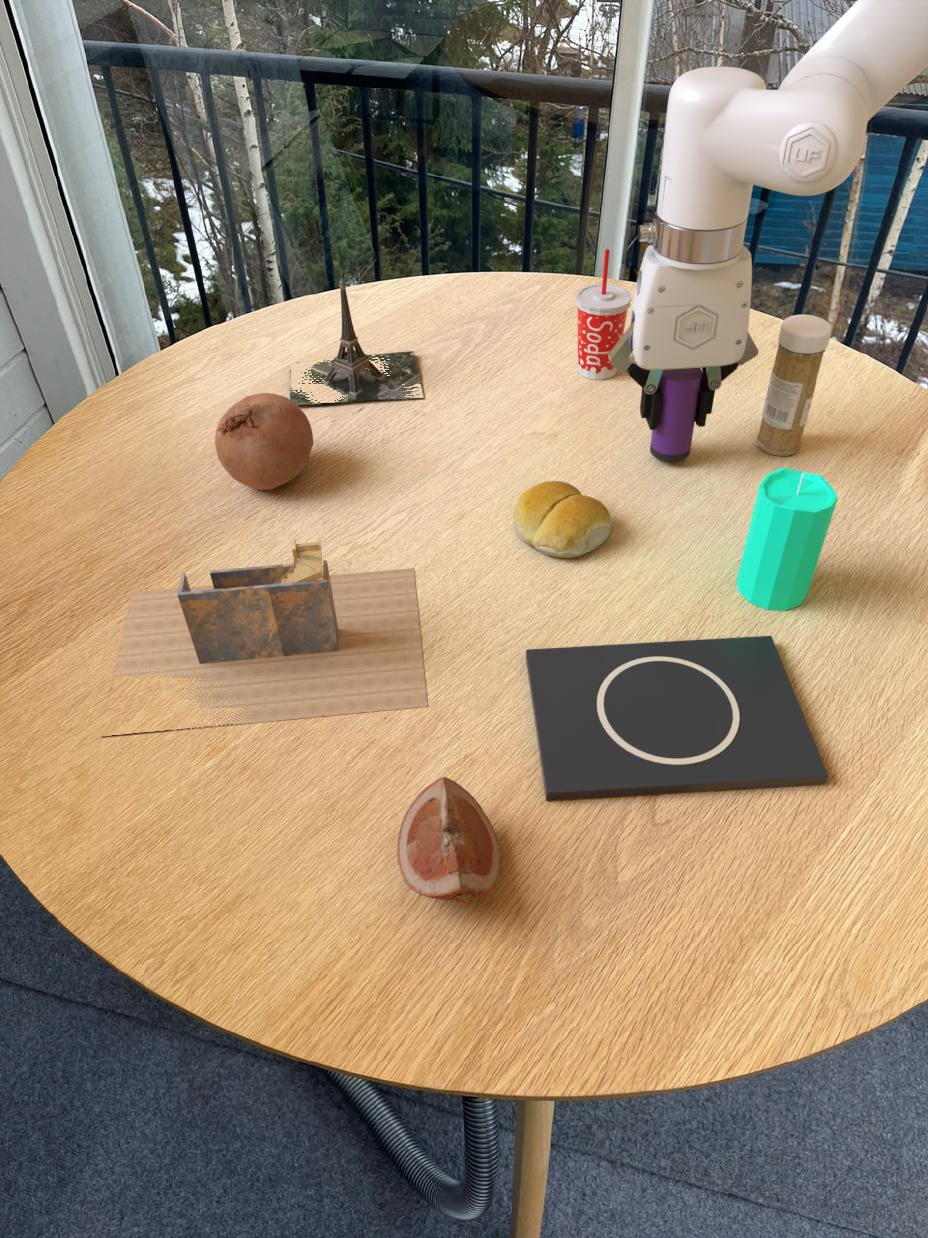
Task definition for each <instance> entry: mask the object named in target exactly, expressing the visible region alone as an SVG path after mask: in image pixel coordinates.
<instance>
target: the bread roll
mask: <svg viewBox="0 0 928 1238" xmlns="http://www.w3.org/2000/svg"><path fill="white" fill-rule="evenodd" d="M513 525H514V530H515V532H516V534H517V536H518V538H519V539H521V541H522V542H524V543H525V544H526V545H529V546H533V547H534V548H535V549H536V550H538V551H539V552H540V553H541V554H545V555H548V556H550V557H554V558H564V559H571V558H577V557H580V556H583V555H585V554H587V553H589V552H592V551H593V550H595V549H597V548H598V547H599V546H600V545H601V544H603V543H604V542H605V541H606V540H607V538H608V537H609V535H610V533H611V514H610V512H609V509H608V508H607V507H606V506H605V504H603V502H601V501H600V500H598V499H596V498H593V497H591V496H589V495H584V494H582V493H581V491H580V489H578V488H577V487H575V486H574V485H572V484H570V483H568V482H565V481H563V480H562V481H561V480H549V481H544V482H540V483H537V484H535V485H533V486H531V487H529V488H528V489H526V490H525V491H524V492H523V493H522V494H521V495H520V496H519V498H518V500H517V501H516V504H515V506H514V511H513Z"/></svg>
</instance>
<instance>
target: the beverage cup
mask: <svg viewBox="0 0 928 1238" xmlns="http://www.w3.org/2000/svg"><path fill="white" fill-rule="evenodd" d="M609 259H610V249H608V248H606V249H605V250H604V259H603V269H602V270H603V271H602V283H593V284H588V285H584V286H582V287H581V288H579V289H578V290H577V291H576V292H575V293H574V294H575V300H574V302H575V307H577V373H578V374H579V375H580V376H582V377H583V378H587V379H589V380H594V381H603V380H608V379H612V377H614V376H616V374H617V372H618V370H619V369H617V368H615V367H613V366H612V365H611V363H610V360H609V357H608V355H609V353H610V352H611V350H612V349H613V348H614V346H615V345H616V344H617V342H618V341H619V340H620V338H621V337H622V336H623V334H624V333H625V327H626V323H627V322H626V321H627V317H628V309H629V308H631V307H630V306H632V305H631V303H632V300H633V297H632V293H631V292H630V291H629V290H628V289H627V288H626V287H622V286H620V285H618V284H612V283H608V275H609V274H608V273H609V261H610V260H609Z"/></svg>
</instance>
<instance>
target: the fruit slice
mask: <svg viewBox="0 0 928 1238" xmlns="http://www.w3.org/2000/svg"><path fill="white" fill-rule="evenodd" d="M413 800H414V801H412V802H411V804H410V806H409V807H408V809H407V811H406V813H405V815H404V817H403V819H402V822H401V825H400V829H399V833H398V839H397V862H398V866H399V870H400V873H401V875H402V877H403V881H404V882H405V883H406V885H407V886H408V887H409V888H410V889H411V890H412V891H413V892H415V893H416V894H418V895H420V896H423V897H427V898H430V899H435V900H439V901H441V900H442V901H448V902H454V901H458V902H465V903H468V902H469V901H471V900H477V899H478V900H479V899H482V898H485V897H486V896H488V895H489V894H490V893H491V892H492V891H493V890H494V889H495V887H496V885H497V883H498V882H499V878H500V875H501V864H502V859H501V858H502V857H501V851H500V850H501V849H500V844H499V841H498V837H497V834H496V831H495V829H494V827H493V825H492V823H491V821H490V819H489V817H488V816H487V814H486V813H485V811H484V809H483V808H482V806H481V805H480V803H479V802H478V801H477V799H476V798H475V797H474V796H473V795H472V794H471V793H470V792H469V791H468V790H466V789H465V788H464V787H463V786H461V785H460V784H459V783H458V782H456V781H454V780H452V779H450V778H449V777H445V776H442V777H439V778H438V779H436V780H435V781H434V782H432V783H430V784H429V785H427V786H426V787H425V788H424V789H423V790H422V791H421V792H419V794H418V795H417V796H416V797H415V799H413Z"/></svg>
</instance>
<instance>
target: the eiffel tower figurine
mask: <svg viewBox="0 0 928 1238" xmlns="http://www.w3.org/2000/svg"><path fill="white" fill-rule="evenodd" d="M340 277H341V279H340V281H338V286H339V289H340V291H339V292H340V306H341V307H340V308H341V337H340V338H339V341H340V343H339V347H338V352H337V355H336V356H335V357H333V358H334V360H332V361H330V360H327V361H326V362H327V363H326V362H322V363H321V362H318V363H320V364H318V363H317V364H314V365H313V366H314V367H313V366H312V367H309V368H311V370H308V372H309V371H311V373H312V375H309V374H311V373H308V375H309V377H310V378H312V379H313V380H314V381H312V383H313V382H316V383H313V384H317V383H318V384H324V385H325V384H326V386H329V387H330V388H333V390H337V392H340V393H341V394H342V395H344V396H345V395H346V397H343V396H342V397H343V398H344V399H341V400H338V399H337V400H338V401H339V402H336V403H335V404H341V403H348V402H354V403H357V402H361V401H372V400H373V401H374V400H375V401H377V400H407V399H406V398H410V397H405V396H412V397H413V396H414V395H406V394H411V393H412V392H417V391H419V390H416V391H407V390H412V389H414V388H419V387H411V388H404V387H409V386H413V385H415V384H422V378H421V374H420V371H419V367H418V364H417V363H418V362H417V359H416V353H415V351H414V350H409V351H397V352H387V353H378V354H377V353H375V354H374V355H375V356H372V355H373V354H367V353H365V352H364V351H363V348H362V347H361V345H360V343H359V337H358V336H357V334H356V332H355V328H354V324H353V319H352V314H351V311H350V305H349V300H348V294H347V287H346V286H347V282H346V281H345V280H344V279H343V274H342V273H340ZM381 355H382V356H381ZM387 356H388V357H387ZM375 357H378V358H379V359H380V361H381V362H382V361H384V360H385V361H386V362H382V363H383V364H384V363H387V364H388V365H386V364H384V365H383V366H384V369H389V370H385V371H386V372H387V373H388V374H384V373H386V372H382V373H381V372H380V371H383V370H380V371H379V370H378V369H377V368H376V367H375V366H374V365H373V364H372V363H371V362H370V361H369V360H371V361H375V360H378V359H372V358H375ZM381 358H384V359H381ZM387 359H390V360H387ZM324 361H325V360H324ZM328 361H330V362H328ZM375 363H378V361H377V362H375ZM392 364H393V365H392ZM380 365H382V364H380ZM385 366H388V367H389V368H387V367H385ZM366 368H367V369H366ZM380 368H382V367H380ZM368 369H369V370H368ZM306 370H307V369H306ZM390 371H391V372H390ZM301 373H302V372H301ZM306 373H307V372H304V374H306ZM315 374H316V375H315ZM321 374H322V375H321ZM308 375H305V377H306V376H308ZM387 375H390V376H387ZM312 376H313V377H312ZM318 376H319V377H318ZM325 377H326V378H325ZM302 378H304V377H302ZM306 378H307V377H306ZM314 378H316V379H314ZM320 378H322V379H320ZM420 378H421V379H420ZM307 379H308V378H307ZM307 379H304V380H307ZM312 379H309V381H310V380H312ZM316 380H319V381H316ZM322 380H324V381H322ZM302 382H303V381H302ZM319 382H321V383H319ZM299 384H300V383H299ZM302 384H305V383H302ZM308 384H311V383H308ZM402 384H405V385H402ZM422 385H423V384H422ZM291 389H292V388H291ZM300 389H301V388H300ZM292 391H294V390H291V392H290V391H289V399H290V400H291V401H293V402H294V403H295V404H296V405H313V404H312V403H314V402H310V401H311V400H313V399H311V400H307V399H308V398H310V397H306V396H305V395H309V394H305V393H306V392H302V390H300V392H297V391H298V390H295V391H296V392H297V393H295V392H292ZM403 391H404V392H403ZM301 392H302V393H303V394H305V395H303V394H299V393H301ZM311 393H312V392H311ZM416 395H419V394H416ZM312 396H313V395H312ZM305 398H307V399H305ZM340 398H341V397H340ZM347 398H348V399H347ZM315 401H317V400H315ZM335 401H336V400H335ZM341 401H342V402H341ZM318 403H320V402H318Z"/></svg>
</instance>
